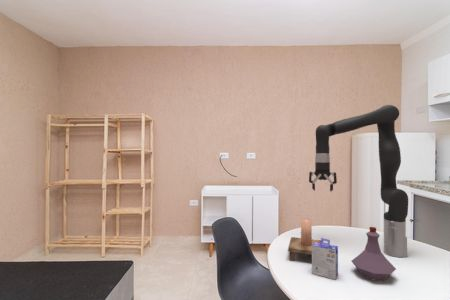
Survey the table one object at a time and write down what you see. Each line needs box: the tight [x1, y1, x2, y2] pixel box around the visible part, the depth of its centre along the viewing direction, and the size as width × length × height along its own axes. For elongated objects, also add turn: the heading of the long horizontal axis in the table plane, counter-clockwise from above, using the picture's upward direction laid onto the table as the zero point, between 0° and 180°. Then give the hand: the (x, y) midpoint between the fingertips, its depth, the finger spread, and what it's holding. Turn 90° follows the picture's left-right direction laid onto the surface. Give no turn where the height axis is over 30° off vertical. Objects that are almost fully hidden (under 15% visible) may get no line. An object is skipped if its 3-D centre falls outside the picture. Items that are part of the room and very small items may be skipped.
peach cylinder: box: [300, 218, 313, 246], centre depth 124 cm, size 5×5×12 cm
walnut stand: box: [287, 236, 324, 262], centre depth 124 cm, size 16×16×6 cm
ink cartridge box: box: [311, 237, 339, 280], centre depth 106 cm, size 10×6×14 cm, turn 58°
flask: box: [351, 226, 397, 281], centre depth 106 cm, size 16×16×20 cm
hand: (322, 190), depth 138 cm, fingers open, 8 cm apart
